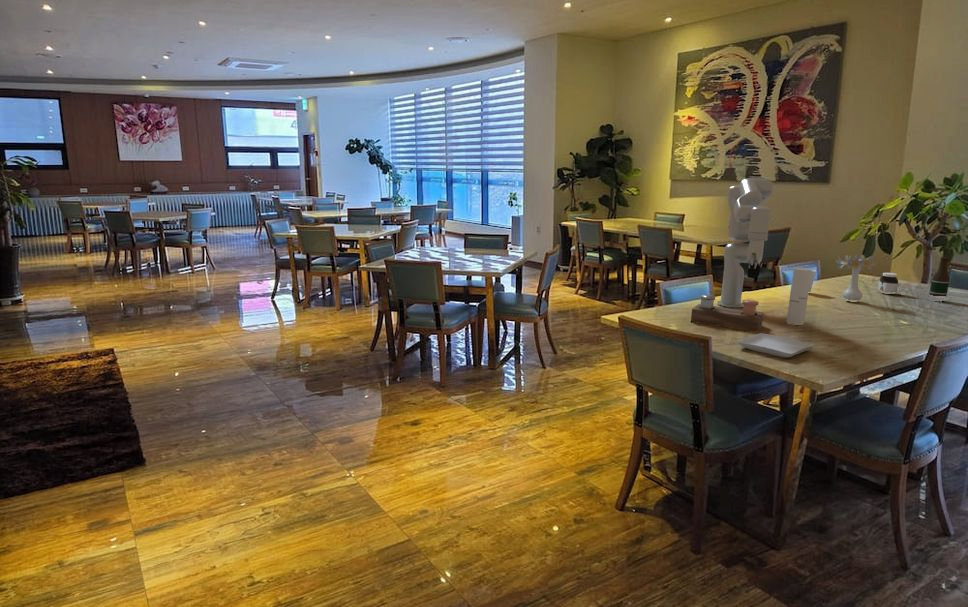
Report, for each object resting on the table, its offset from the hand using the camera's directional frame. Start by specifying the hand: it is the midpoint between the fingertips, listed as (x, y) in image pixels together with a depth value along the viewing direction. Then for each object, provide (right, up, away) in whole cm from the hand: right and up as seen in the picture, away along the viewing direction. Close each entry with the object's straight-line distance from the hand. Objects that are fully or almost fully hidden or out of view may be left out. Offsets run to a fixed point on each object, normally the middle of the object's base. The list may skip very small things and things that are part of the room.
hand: (753, 276), depth 266 cm
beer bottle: (+129, -11, +68) cm, 146 cm away
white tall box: (+24, -21, +12) cm, 34 cm away
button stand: (-8, -21, +10) cm, 24 cm away
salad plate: (-4, -30, -28) cm, 42 cm away
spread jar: (+115, -7, +84) cm, 142 cm away
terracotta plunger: (0, -17, +4) cm, 17 cm away
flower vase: (+78, -11, +62) cm, 100 cm away
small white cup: (-16, -14, +13) cm, 25 cm away
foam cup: (+65, -6, +83) cm, 105 cm away
